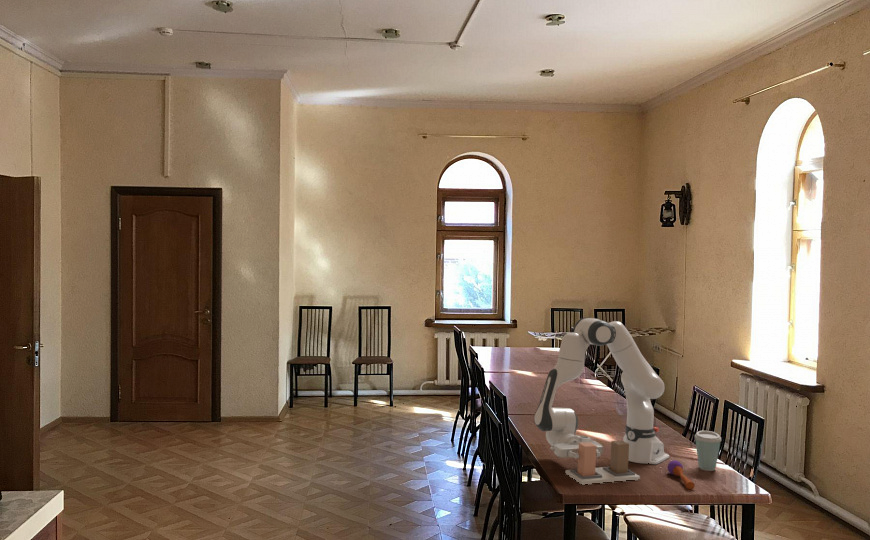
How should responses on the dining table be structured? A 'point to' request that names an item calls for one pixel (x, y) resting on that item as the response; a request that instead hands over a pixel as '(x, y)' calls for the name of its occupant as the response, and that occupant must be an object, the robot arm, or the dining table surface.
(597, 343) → the robot arm
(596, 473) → the board
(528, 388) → the dining table surface
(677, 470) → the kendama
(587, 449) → the terracotta pillar
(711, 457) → the disposable coffee cup
